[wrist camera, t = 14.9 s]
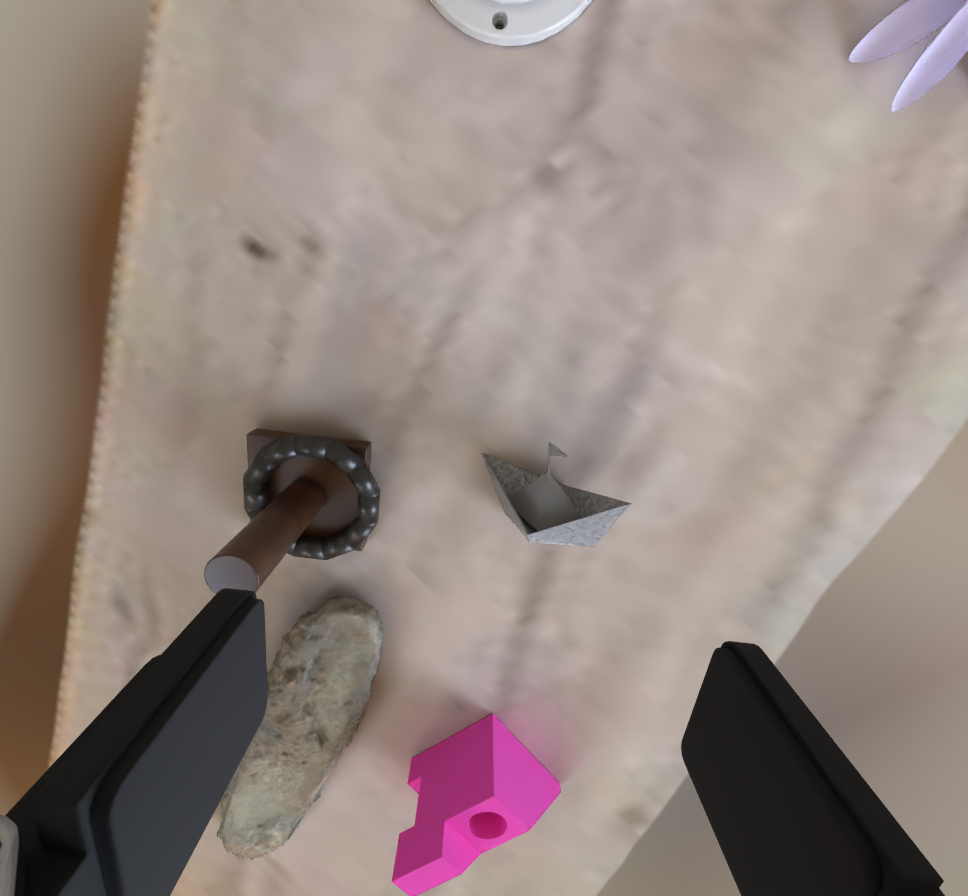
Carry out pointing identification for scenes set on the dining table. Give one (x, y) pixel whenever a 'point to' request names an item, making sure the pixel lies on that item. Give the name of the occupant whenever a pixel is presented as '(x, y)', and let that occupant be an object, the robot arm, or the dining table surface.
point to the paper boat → (552, 505)
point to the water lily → (929, 6)
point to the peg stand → (287, 514)
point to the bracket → (469, 803)
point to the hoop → (338, 457)
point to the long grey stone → (302, 724)
